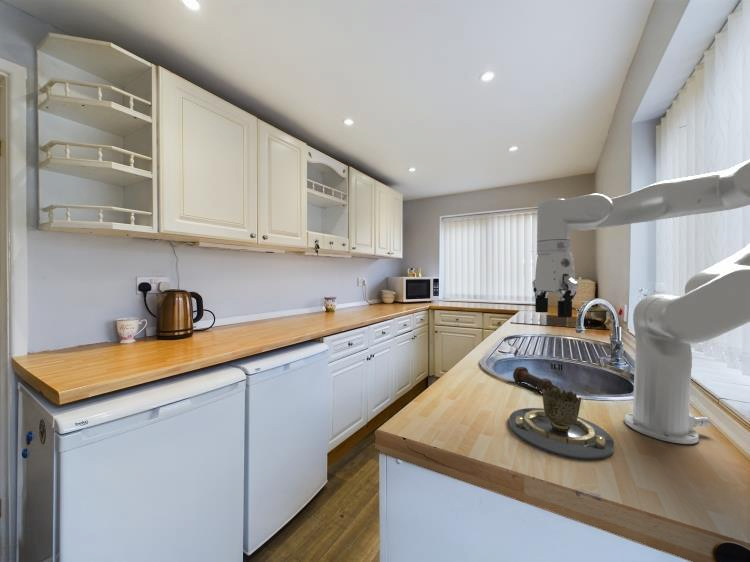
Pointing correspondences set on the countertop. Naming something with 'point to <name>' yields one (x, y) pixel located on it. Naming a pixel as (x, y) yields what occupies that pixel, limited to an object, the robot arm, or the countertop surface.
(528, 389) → the countertop surface
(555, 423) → the dark hollow rounded piece
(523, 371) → the bolt
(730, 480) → the countertop surface
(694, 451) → the countertop surface
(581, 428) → the carrier plate
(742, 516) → the countertop surface
